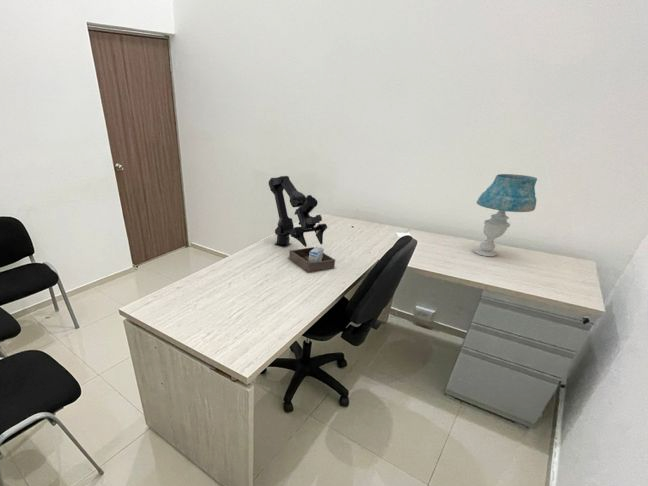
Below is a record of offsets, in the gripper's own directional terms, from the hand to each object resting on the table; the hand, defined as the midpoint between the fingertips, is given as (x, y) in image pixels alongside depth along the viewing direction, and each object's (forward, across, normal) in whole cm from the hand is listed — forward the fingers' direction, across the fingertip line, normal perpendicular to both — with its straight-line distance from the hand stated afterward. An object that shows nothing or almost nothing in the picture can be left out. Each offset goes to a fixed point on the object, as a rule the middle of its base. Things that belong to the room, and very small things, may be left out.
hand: (313, 245), depth 163 cm
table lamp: (+23, +96, -9) cm, 99 cm away
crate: (+6, 0, +8) cm, 10 cm away
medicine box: (+9, 0, +5) cm, 11 cm away
